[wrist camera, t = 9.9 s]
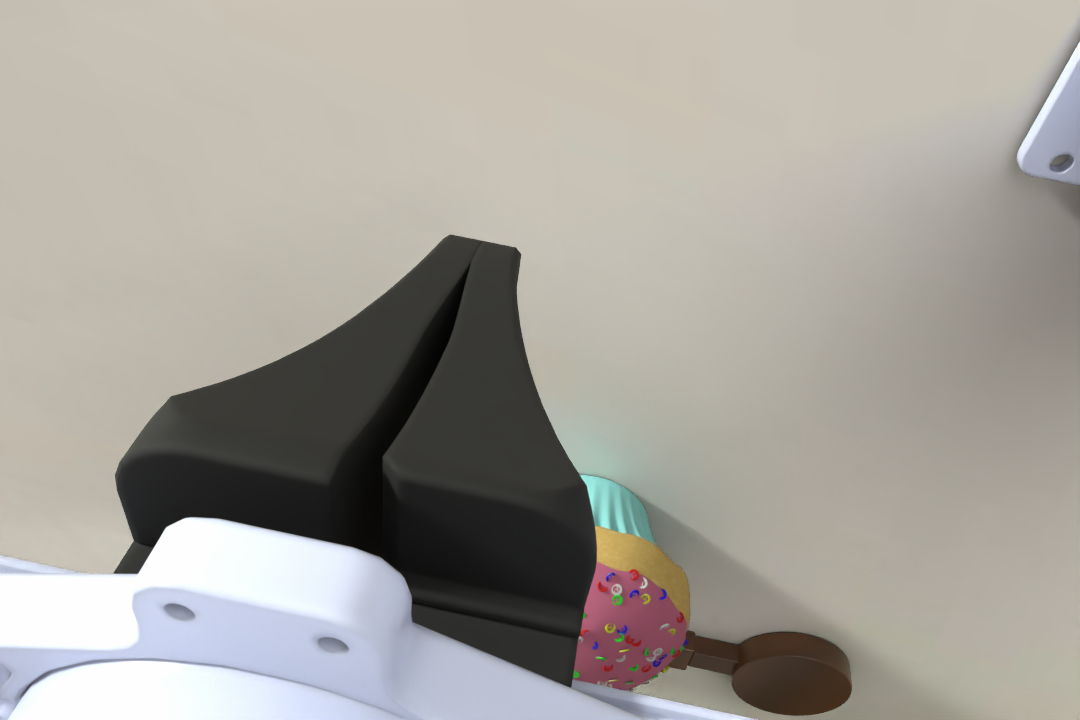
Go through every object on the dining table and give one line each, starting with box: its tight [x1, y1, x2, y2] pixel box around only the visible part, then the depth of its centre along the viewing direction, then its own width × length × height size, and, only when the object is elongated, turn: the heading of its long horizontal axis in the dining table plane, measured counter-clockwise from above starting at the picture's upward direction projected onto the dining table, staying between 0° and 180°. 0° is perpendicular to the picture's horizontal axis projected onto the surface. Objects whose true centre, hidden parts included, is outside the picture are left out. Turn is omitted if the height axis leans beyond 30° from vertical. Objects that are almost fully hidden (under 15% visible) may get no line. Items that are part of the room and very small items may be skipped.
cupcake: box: [573, 475, 690, 692], centre depth 30 cm, size 9×8×12 cm
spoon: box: [668, 631, 852, 716], centre depth 39 cm, size 22×5×1 cm, turn 83°
